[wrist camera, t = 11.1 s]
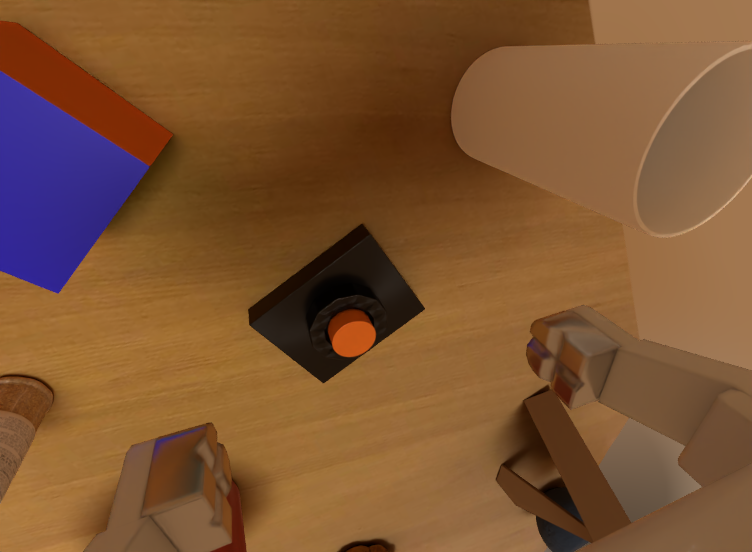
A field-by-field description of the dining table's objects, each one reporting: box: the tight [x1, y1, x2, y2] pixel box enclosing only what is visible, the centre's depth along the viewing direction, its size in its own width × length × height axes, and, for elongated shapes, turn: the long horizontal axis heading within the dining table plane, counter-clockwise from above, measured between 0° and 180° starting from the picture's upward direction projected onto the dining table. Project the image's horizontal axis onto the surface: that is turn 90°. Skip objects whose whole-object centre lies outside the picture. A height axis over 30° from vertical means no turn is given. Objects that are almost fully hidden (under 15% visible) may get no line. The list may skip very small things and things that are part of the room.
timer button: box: [328, 309, 376, 357], centre depth 30 cm, size 4×4×2 cm
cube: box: [0, 21, 173, 293], centre depth 18 cm, size 8×8×8 cm
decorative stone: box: [536, 487, 588, 552], centre depth 69 cm, size 12×12×10 cm
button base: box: [248, 224, 425, 383], centre depth 32 cm, size 12×10×4 cm
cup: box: [451, 41, 752, 238], centre depth 22 cm, size 8×8×16 cm
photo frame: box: [497, 390, 631, 543], centre depth 49 cm, size 15×22×25 cm
